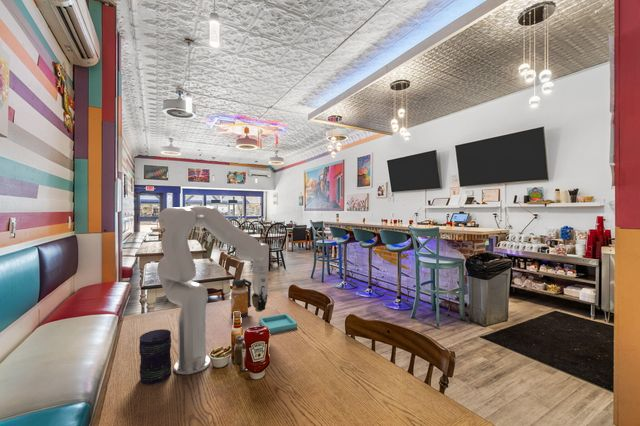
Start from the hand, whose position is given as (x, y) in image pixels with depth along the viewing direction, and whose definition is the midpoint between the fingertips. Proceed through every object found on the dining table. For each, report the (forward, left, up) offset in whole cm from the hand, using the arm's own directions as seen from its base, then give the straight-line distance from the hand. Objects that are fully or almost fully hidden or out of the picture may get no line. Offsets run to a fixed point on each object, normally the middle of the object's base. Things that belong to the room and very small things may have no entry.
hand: (259, 307), depth 138 cm
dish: (+5, -11, -13) cm, 18 cm away
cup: (0, 0, -2) cm, 2 cm away
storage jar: (-18, +42, -13) cm, 47 cm away
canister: (+28, +2, -13) cm, 31 cm away
